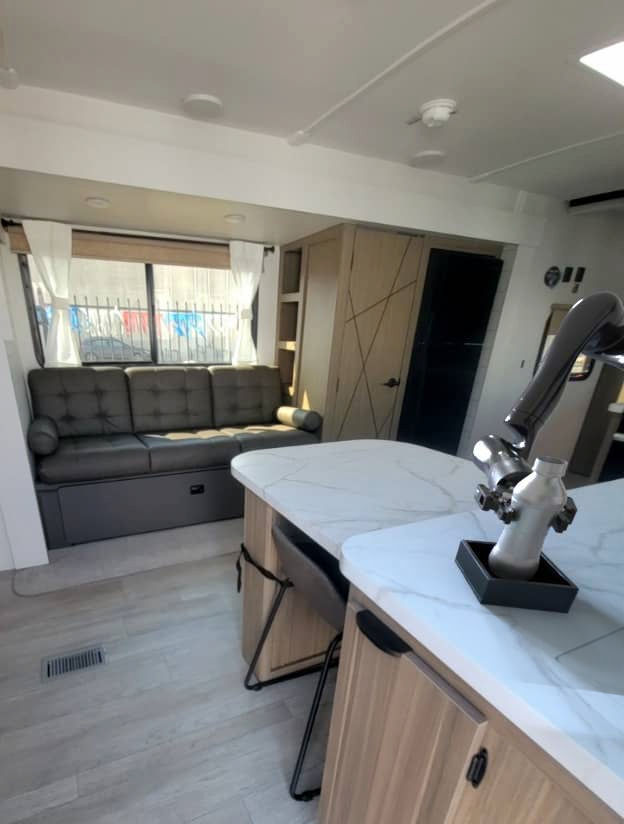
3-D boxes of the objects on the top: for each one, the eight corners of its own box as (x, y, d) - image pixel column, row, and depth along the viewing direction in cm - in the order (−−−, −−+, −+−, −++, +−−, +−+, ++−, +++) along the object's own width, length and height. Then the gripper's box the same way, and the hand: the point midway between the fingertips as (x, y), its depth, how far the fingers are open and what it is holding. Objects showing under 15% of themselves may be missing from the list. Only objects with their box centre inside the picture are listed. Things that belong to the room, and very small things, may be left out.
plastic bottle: (487, 559, 71) (525, 449, 62) (533, 573, 67) (580, 459, 58) (481, 577, 66) (522, 461, 57) (531, 593, 63) (582, 471, 53)
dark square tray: (528, 567, 72) (536, 545, 70) (567, 613, 61) (579, 589, 59) (454, 560, 73) (461, 539, 71) (480, 603, 62) (488, 579, 60)
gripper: (552, 508, 73) (583, 555, 59) (463, 495, 78) (473, 535, 64) (568, 469, 70) (605, 509, 56) (474, 458, 74) (487, 491, 60)
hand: (534, 522), depth 60 cm, fingers closed on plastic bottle, 6 cm apart
